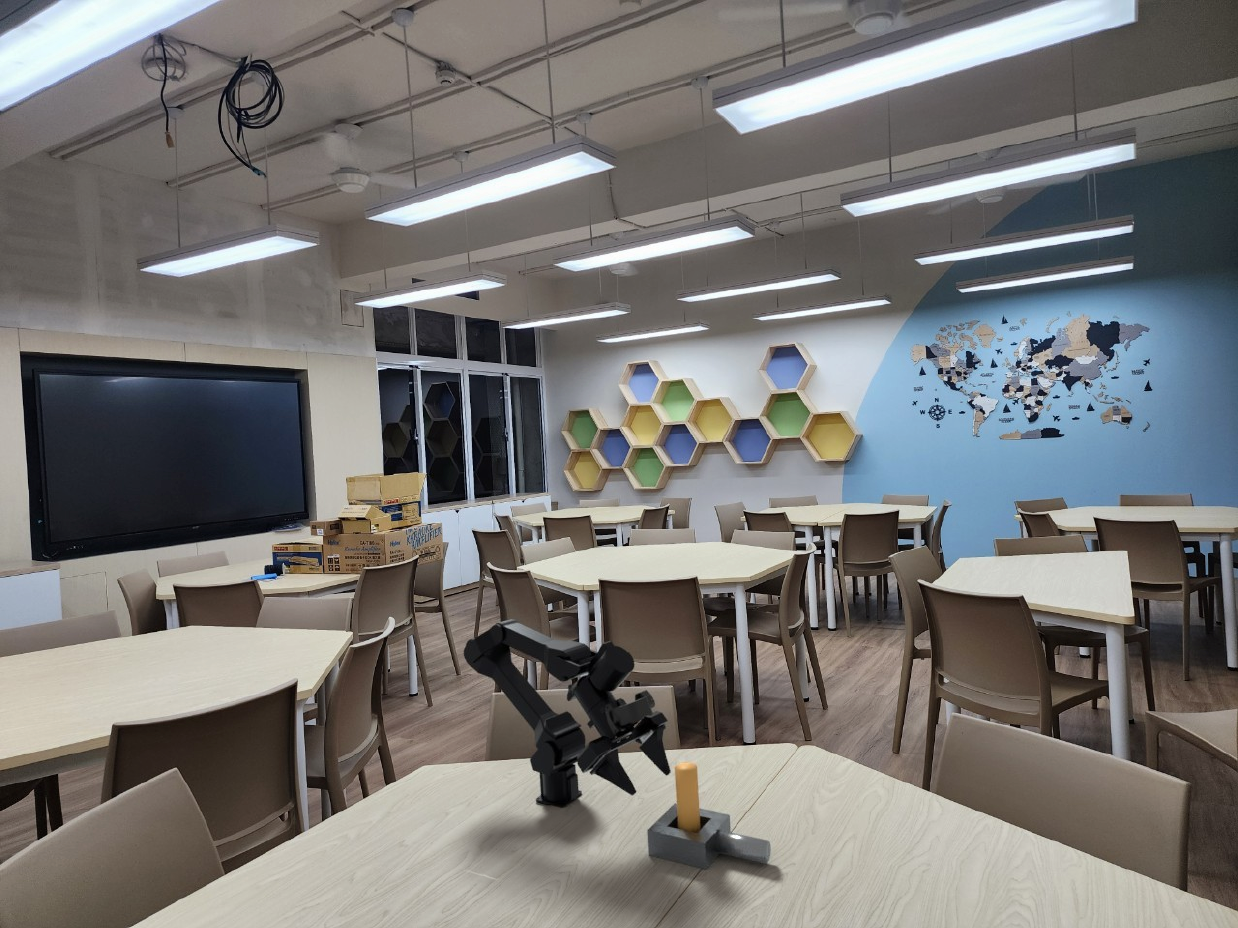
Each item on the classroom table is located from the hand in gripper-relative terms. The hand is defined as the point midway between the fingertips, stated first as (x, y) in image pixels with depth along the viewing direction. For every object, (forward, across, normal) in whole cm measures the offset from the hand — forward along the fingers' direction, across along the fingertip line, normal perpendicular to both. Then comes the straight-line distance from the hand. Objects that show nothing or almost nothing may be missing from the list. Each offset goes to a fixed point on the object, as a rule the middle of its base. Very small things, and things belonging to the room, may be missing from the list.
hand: (652, 783), depth 127 cm
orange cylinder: (+11, 0, +1) cm, 11 cm away
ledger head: (+14, +1, -2) cm, 14 cm away
